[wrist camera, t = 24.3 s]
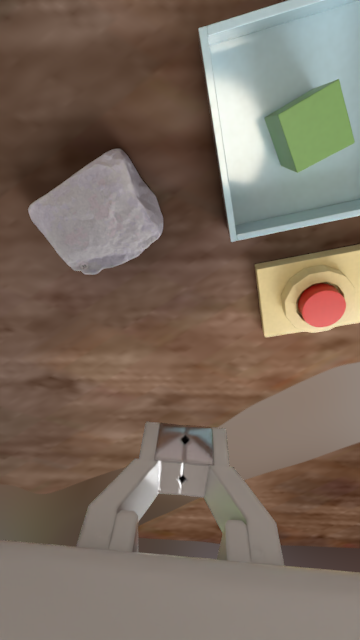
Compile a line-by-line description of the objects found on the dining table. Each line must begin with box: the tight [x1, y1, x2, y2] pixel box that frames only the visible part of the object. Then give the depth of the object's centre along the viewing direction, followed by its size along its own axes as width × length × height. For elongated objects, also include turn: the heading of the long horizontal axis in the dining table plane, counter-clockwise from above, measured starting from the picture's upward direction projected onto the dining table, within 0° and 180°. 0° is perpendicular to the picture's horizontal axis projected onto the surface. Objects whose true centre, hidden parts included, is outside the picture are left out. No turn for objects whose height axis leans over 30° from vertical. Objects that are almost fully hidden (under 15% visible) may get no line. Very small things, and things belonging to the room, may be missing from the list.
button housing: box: [255, 244, 360, 337], centre depth 37 cm, size 12×9×4 cm
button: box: [298, 284, 346, 327], centre depth 35 cm, size 4×4×2 cm
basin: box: [198, 0, 360, 242], centre depth 28 cm, size 15×16×4 cm
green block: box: [264, 79, 355, 173], centre depth 27 cm, size 4×4×6 cm
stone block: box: [28, 149, 163, 275], centre depth 34 cm, size 12×5×10 cm
